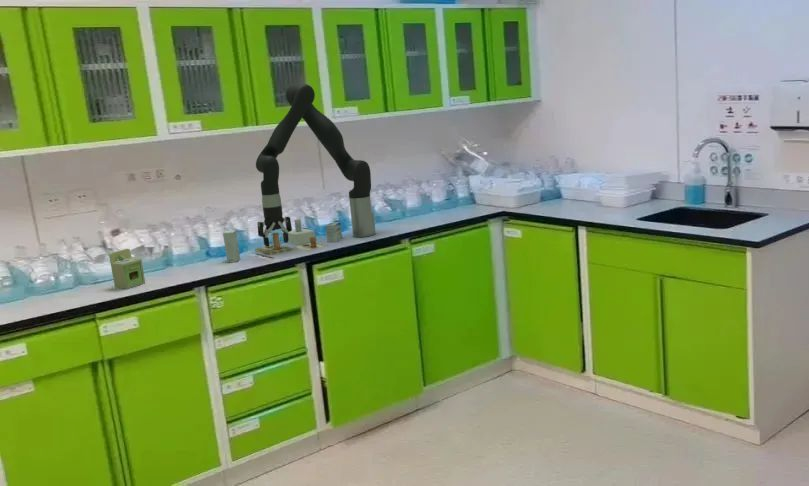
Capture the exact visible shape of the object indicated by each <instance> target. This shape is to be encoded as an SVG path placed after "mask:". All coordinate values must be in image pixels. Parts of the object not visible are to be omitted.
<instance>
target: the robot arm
mask: <svg viewBox="0 0 809 486" xmlns="http://www.w3.org/2000/svg"><path fill="white" fill-rule="evenodd" d="M315 96H316V93H315V90H314V88H313V86H311V85H309V84H305V83H298V84H297V83H296V84H295V83H293V84H290V85H289V86H288V87H287V88H286V91H285V99H286V101H287V103H288V104H289V105H290V108H289V111H288V112H287V113H286V114H285V116H284V117H283V118H282V120H281V121H280V122H279V123H278V124H277V125H276V127H275V128H274V130H273V132H272V133H271V136H270V138H269V139H268V141H267V144H266V145H265V146H264V147H263V149H262V150H261V152H260V153H259V154H258V156H257V159H256V161H255V168H256V170H257V171H258V172H260V173H262V174H263V177H262V178H263V179H262V180H261V182H260V191H261V203H262V204H261V205H262V211H263V217H264V218H263V219H264V221H258V222H257V234H258V237H261V238H262V239H263V245H264V247H265V246H266V247H269V245H270V239H269V235H270V234H271V233H272V231H276V230H280V231H281V232H282V239H283V243H286V244H288V243H287V242H288V240H289V238H288V232H290V231H292V230H293V228H292V220H291V217H290V216H285V217H283V213H284V212H283V207H282V205H283V204H282V200H281V199H282V198H281V194H280V186H279V185H280V184H279V180H280V179H279V177H280V164H279V160H278V159H277V157H278V156H279V155H281V154H283V153H284V151H285V149H286V147H287V145H288V143H289V142H290V138H291V137H292V135H293V134H294V131H295V130H296V128H297V126H298V125H299V123H300V121H301V120H304V122H305V123H306V124H307V126H308V128H309V129H310V130H311V132H313V134H314V135H315V138H317V140H318V141H319V142H320V144H321V145H322V147H324V148H325V150H326V151H327V153H328V154H329V156H330V157H332V159H333V160H334V162H335V163H336V166H337V167H338V168H339V170H340V172H341V173H342V175H343V176H344V178H345V179H346V180H348V181H350V182H353V188H352V189H351V190H349V192H348V199H349V207H350V219H351V228H352V230H351V231H352V237H354V238H365V237H366V238H367V237H371V236H374V235H376V233H377V232H376V223H375V213H374V212H372V201H371V190H372V175H371V174H372V173H371V168H370V165H369V163H368V162H366V160H361V159H360V160H356V159H354V158H352V156H351V155H350V154H349V152H348V151H347V149H346V147H345V143H344V142H345V141H344V138H343V135H342V133H341V131H340V130H339V128H338V127H337V126H336V124H335V123H334V122H333V121H332V120H331V119H330V118H329V117H327V116H326V115H325V114H323V113H322V112H321V111H319V110H318V108H316V107H315V105H314V104H313V102H314V100H315ZM284 223H285V225H284ZM264 227H265V228H264Z"/></svg>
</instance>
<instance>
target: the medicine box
mask: <svg viewBox="0 0 809 486" xmlns="http://www.w3.org/2000/svg"><path fill="white" fill-rule="evenodd" d="M325 233H326V240H327V242H326V243H338V242H339V241H340V240H342V239H343V235H342V224H341V221H333V222H330V223H328V224H327V225H325Z"/></svg>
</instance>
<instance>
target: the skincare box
mask: <svg viewBox="0 0 809 486" xmlns="http://www.w3.org/2000/svg"><path fill="white" fill-rule="evenodd" d="M222 237H223V242H224V249H225V255H226V261H227V263H237V262H238V261H240V260H241V255H240V249H239V243H238V236H237V230H236V229H232V230H226V231H224V232H223V233H222Z"/></svg>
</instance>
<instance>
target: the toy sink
mask: <svg viewBox="0 0 809 486" xmlns="http://www.w3.org/2000/svg"><path fill="white" fill-rule="evenodd" d="M108 256H109V262H110V267H111V273H112V278H113V284H114V285H113V286H114V288H116V289H121V290H128V289H130V288H134V287H136V286H140V285H144V284H146V278H145V273H144V268H143V267H144V266H143V259H142V258H139V257H132V254H131V249H130V248H123V249H120V250H116V251H112V252H110V253H109V254H108Z"/></svg>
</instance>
